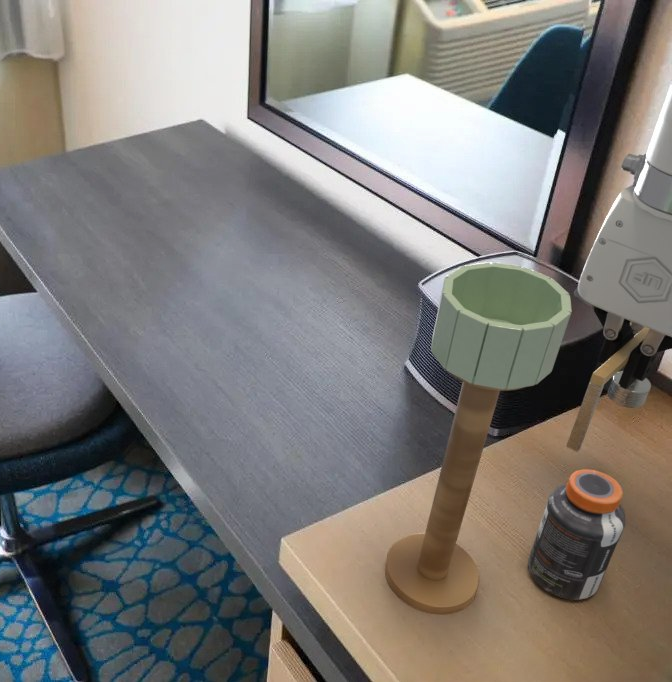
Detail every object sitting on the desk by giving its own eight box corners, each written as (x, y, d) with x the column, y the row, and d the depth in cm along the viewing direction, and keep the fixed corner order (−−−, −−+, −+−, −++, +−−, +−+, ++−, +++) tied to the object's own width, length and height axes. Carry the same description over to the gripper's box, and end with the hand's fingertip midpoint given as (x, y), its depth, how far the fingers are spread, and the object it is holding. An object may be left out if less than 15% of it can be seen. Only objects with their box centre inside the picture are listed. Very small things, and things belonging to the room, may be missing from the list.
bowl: (573, 353, 55) (594, 294, 52) (512, 405, 51) (530, 345, 48) (471, 307, 60) (485, 250, 57) (408, 351, 56) (419, 293, 53)
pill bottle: (612, 599, 68) (653, 508, 62) (546, 605, 68) (580, 514, 62) (576, 545, 73) (611, 456, 67) (515, 551, 73) (543, 462, 66)
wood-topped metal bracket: (616, 382, 77) (644, 310, 72) (650, 397, 75) (681, 325, 70) (554, 440, 71) (579, 366, 66) (589, 458, 69) (618, 384, 64)
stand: (494, 579, 71) (573, 353, 55) (442, 632, 67) (512, 405, 51) (418, 527, 76) (471, 307, 60) (366, 574, 72) (408, 351, 56)
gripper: (569, 172, 62) (516, 356, 73) (794, 239, 52) (694, 440, 63) (613, 145, 66) (557, 324, 77) (831, 203, 56) (731, 399, 67)
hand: (620, 375), depth 70 cm, fingers closed on wood-topped metal bracket, 1 cm apart
